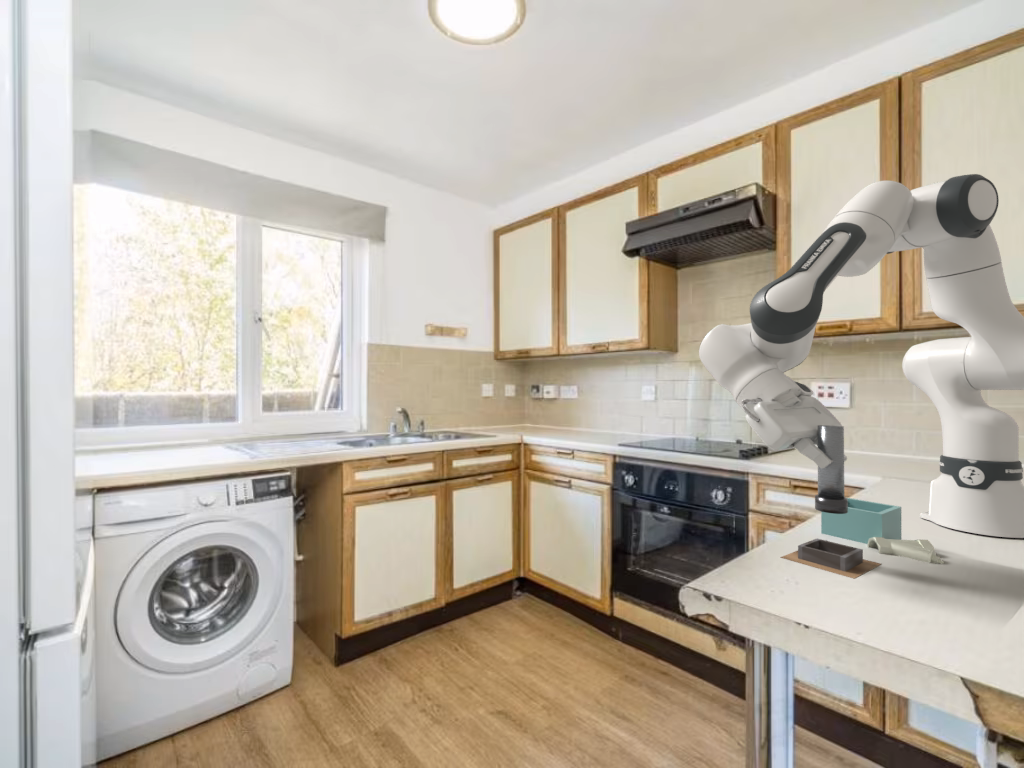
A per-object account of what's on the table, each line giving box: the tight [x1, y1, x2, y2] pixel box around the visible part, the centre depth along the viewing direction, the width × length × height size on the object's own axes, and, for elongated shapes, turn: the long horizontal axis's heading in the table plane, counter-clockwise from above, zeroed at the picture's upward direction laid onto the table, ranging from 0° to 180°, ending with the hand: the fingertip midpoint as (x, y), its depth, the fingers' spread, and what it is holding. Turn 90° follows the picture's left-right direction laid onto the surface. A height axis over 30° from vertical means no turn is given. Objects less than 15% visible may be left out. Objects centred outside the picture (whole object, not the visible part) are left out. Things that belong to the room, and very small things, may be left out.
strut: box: [814, 425, 848, 514], centre depth 74 cm, size 4×4×13 cm
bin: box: [820, 497, 902, 545], centre depth 86 cm, size 9×9×7 cm
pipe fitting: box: [867, 537, 945, 565], centre depth 76 cm, size 8×4×7 cm
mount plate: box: [780, 538, 882, 579], centre depth 73 cm, size 10×10×4 cm
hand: (835, 464), depth 73 cm, fingers closed on strut, 3 cm apart
